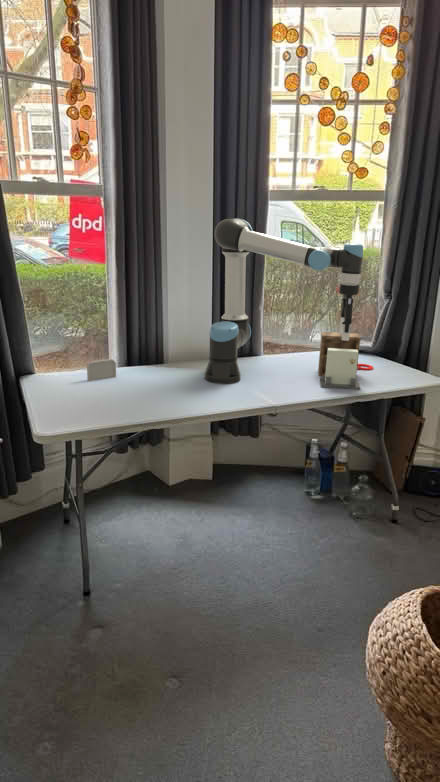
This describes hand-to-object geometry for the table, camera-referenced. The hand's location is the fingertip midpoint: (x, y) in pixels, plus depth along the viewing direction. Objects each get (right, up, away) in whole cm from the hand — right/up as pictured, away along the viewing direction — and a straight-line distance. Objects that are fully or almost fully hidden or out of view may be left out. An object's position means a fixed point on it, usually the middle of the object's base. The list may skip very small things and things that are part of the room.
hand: (343, 336), depth 232 cm
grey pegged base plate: (0, -20, +6) cm, 21 cm away
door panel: (0, -19, +6) cm, 20 cm away
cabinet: (+2, -15, +21) cm, 26 cm away
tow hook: (+16, -12, +33) cm, 39 cm away
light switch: (-99, -17, +4) cm, 101 cm away
